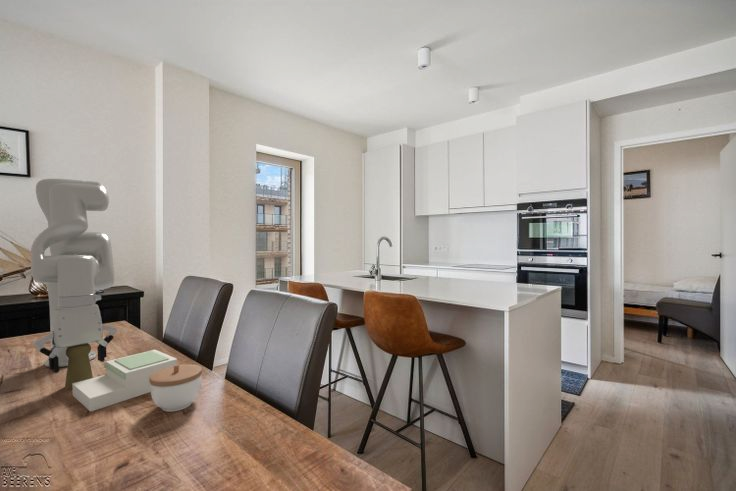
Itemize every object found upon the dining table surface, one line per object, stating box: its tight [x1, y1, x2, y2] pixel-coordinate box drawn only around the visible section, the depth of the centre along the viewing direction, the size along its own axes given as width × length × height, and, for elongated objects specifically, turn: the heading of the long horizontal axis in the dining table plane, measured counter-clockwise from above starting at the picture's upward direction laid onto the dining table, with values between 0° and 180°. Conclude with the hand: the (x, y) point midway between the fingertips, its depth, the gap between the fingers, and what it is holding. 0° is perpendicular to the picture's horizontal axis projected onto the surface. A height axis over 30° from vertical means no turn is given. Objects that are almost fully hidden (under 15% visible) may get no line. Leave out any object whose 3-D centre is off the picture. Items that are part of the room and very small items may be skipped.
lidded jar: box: [149, 363, 203, 413], centre depth 81 cm, size 11×11×9 cm
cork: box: [64, 343, 94, 390], centre depth 93 cm, size 6×6×11 cm
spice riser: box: [72, 349, 179, 412], centre depth 90 cm, size 14×19×7 cm
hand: (79, 366), depth 93 cm, fingers open, 9 cm apart
